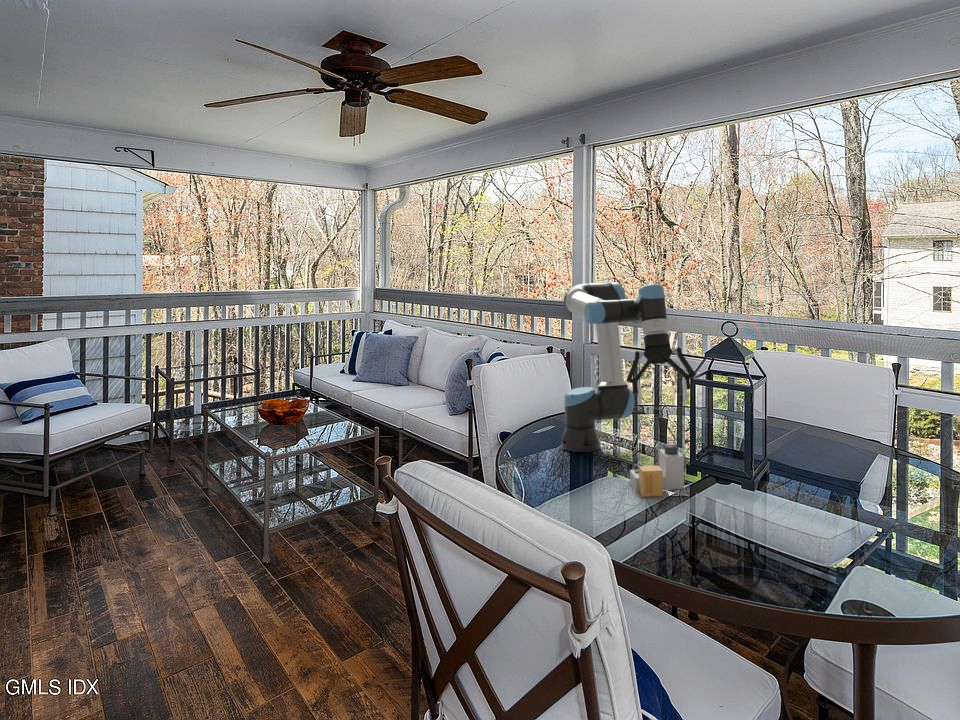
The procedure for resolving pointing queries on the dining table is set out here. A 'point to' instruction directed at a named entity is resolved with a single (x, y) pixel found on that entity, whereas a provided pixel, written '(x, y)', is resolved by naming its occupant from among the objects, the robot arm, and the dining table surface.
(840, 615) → the dining table surface
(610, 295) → the robot arm
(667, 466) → the white small appliance
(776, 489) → the dining table surface
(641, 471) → the orange wooden block
